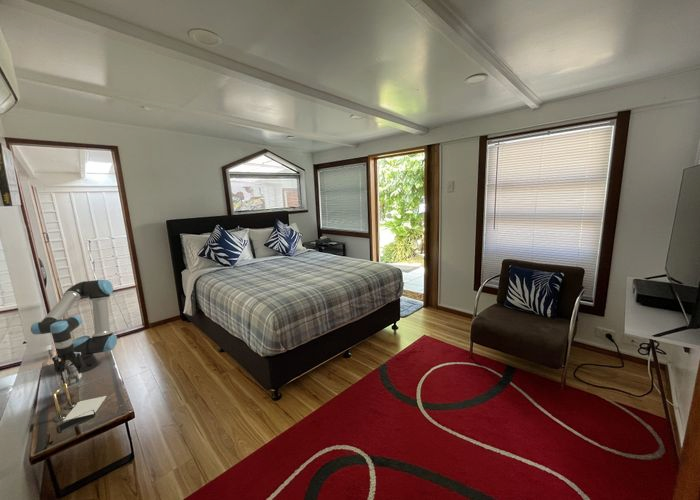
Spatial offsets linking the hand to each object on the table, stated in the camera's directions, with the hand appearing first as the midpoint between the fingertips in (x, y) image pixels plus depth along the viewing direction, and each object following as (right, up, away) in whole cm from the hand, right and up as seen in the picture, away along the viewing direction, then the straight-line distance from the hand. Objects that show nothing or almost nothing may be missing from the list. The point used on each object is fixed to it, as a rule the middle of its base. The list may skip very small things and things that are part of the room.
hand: (73, 378), depth 176 cm
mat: (+16, -14, -8) cm, 23 cm away
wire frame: (+6, -15, -11) cm, 19 cm away
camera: (0, -3, +1) cm, 4 cm away
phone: (+20, -16, -18) cm, 31 cm away
